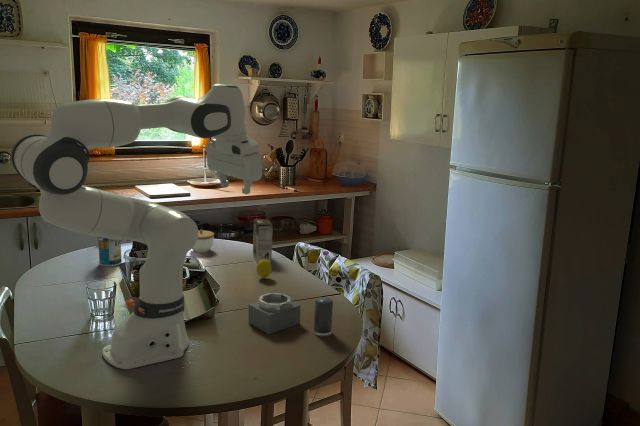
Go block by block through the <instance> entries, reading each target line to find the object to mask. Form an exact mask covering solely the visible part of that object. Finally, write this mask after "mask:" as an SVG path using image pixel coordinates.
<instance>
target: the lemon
mask: <svg viewBox="0 0 640 426" xmlns="http://www.w3.org/2000/svg"><path fill="white" fill-rule="evenodd" d="M256 273H257V275H258V277H260V278H262V280H263V279H266V278H267V277H269V276H270V275H271V273H272V262H270V261H269V260H267V259H265V258H263V259H261V260H260V261H259V262H258V263H257V264H256Z"/></svg>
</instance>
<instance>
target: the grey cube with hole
mask: <svg viewBox="0 0 640 426" xmlns="http://www.w3.org/2000/svg"><path fill="white" fill-rule="evenodd" d="M247 323H248V324H250V325H251V326H254V327H255V328H257V329H258V330H260V331H263V332H264V333H265V334H268V335H271V334H274V333H277V332H280V331H282V330H286V329H288V328H292V327H293V326H297V325H299V324H301V304H299V303H297V302H295V301H292V300H291V296H289V295H287V294H285V293H283V292H282V293H280V292H269V293H265V294H262V295H260V296H259V299H258V301H256V302H253V303H249V304H248V322H247Z"/></svg>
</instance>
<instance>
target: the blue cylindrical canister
mask: <svg viewBox="0 0 640 426" xmlns="http://www.w3.org/2000/svg"><path fill="white" fill-rule="evenodd" d="M97 243H98V245H97V246H98V259H99V261H98V263H99V265H100V266H101V267H115V266H119V265H121V264H122V262H123V261H122V260H123V259H122V240H121V239H118V240H112V239H107V238H102V237H97Z"/></svg>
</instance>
